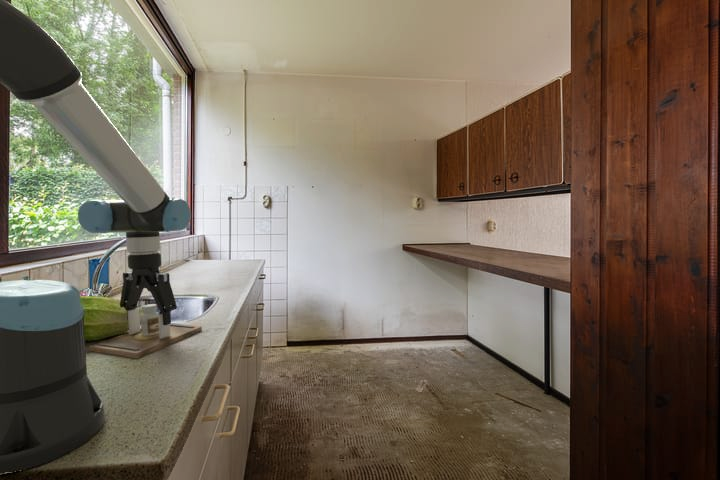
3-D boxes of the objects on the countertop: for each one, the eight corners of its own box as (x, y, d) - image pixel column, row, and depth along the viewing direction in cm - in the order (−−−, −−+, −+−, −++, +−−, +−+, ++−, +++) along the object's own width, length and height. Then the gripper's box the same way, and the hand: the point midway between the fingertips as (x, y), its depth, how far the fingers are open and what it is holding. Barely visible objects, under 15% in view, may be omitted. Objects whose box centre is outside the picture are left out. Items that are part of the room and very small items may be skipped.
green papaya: (150, 317, 93) (150, 284, 102) (41, 323, 81) (54, 285, 90) (146, 349, 99) (147, 314, 108) (45, 359, 87) (56, 319, 96)
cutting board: (136, 358, 80) (136, 351, 80) (89, 350, 85) (89, 344, 85) (201, 330, 98) (201, 325, 98) (160, 325, 104) (159, 320, 104)
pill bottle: (151, 336, 89) (150, 307, 89) (137, 336, 90) (135, 307, 90) (164, 331, 94) (162, 303, 93) (150, 330, 95) (148, 303, 94)
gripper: (189, 252, 90) (193, 333, 92) (126, 250, 97) (132, 326, 99) (165, 255, 83) (170, 344, 84) (99, 253, 90) (105, 335, 92)
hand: (149, 334), depth 92 cm, fingers closed on cutting board, 10 cm apart
